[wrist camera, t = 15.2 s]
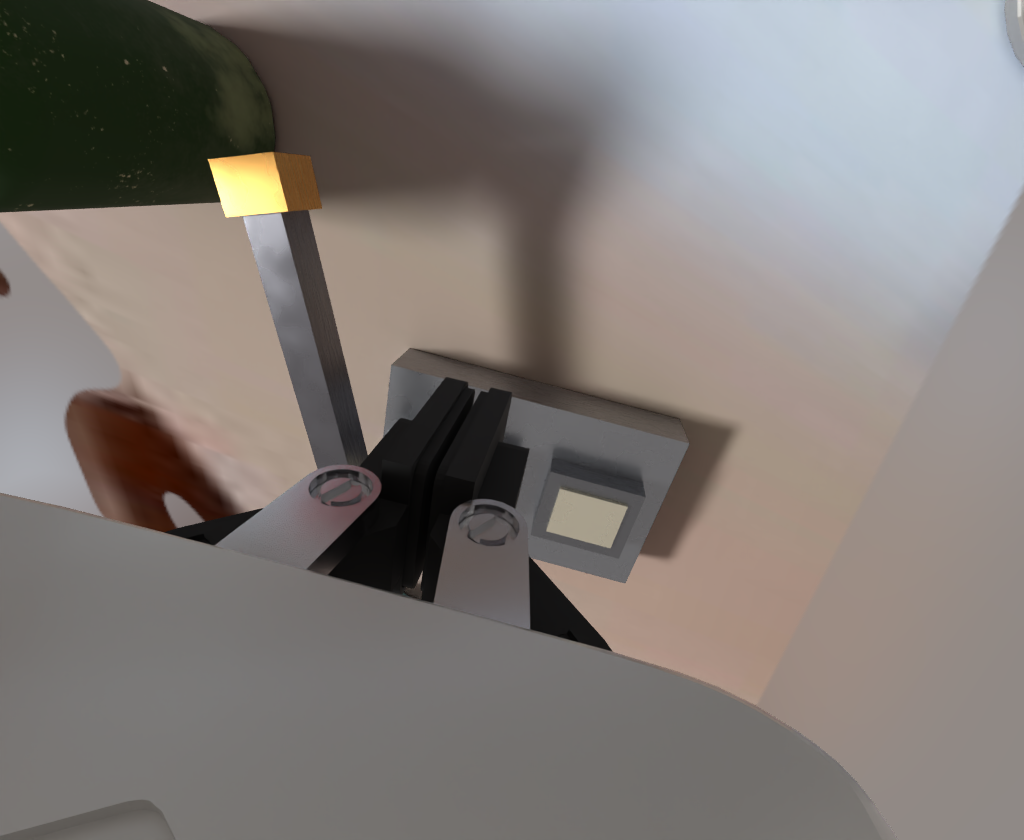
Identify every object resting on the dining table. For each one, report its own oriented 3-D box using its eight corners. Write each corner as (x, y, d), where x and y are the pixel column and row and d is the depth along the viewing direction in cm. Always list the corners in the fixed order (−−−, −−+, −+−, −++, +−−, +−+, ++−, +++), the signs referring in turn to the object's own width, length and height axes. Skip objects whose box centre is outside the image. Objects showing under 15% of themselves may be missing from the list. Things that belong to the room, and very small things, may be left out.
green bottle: (238, 0, 30) (-817, -565, 7) (302, 184, 34) (-245, 182, 12) (104, 47, 32) (-1027, -278, 9) (179, 215, 36) (-480, 263, 14)
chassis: (679, 419, 38) (707, 487, 29) (622, 551, 44) (630, 638, 35) (407, 347, 38) (356, 393, 30) (389, 488, 44) (343, 559, 36)
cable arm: (395, 512, 33) (377, 543, 30) (346, 511, 34) (324, 541, 31) (313, 155, 24) (277, 151, 21) (248, 162, 24) (203, 159, 22)
